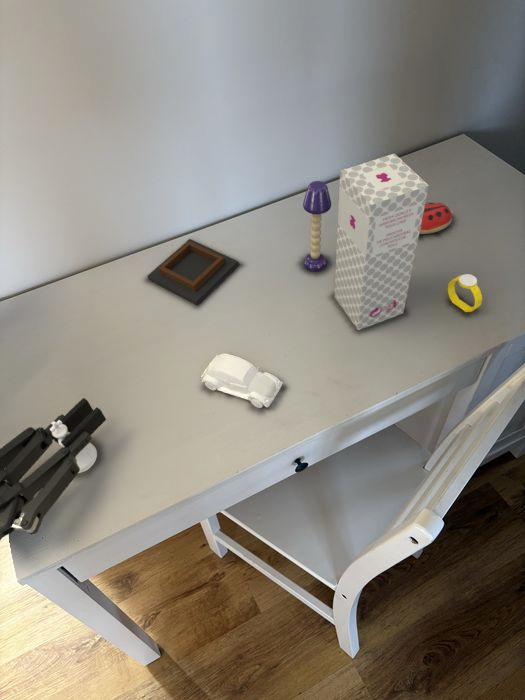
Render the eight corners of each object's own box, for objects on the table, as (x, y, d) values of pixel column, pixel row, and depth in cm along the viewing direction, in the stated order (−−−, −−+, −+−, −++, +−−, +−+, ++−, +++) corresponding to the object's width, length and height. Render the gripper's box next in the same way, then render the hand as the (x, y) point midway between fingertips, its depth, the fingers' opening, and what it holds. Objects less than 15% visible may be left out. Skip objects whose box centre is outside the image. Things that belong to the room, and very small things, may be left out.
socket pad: (148, 279, 99) (144, 270, 97) (190, 242, 104) (188, 232, 102) (197, 305, 94) (194, 295, 92) (238, 265, 100) (237, 255, 98)
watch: (480, 312, 88) (490, 287, 83) (468, 320, 87) (477, 295, 83) (453, 291, 91) (460, 266, 87) (441, 299, 91) (448, 273, 86)
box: (358, 330, 88) (371, 204, 68) (334, 296, 93) (340, 170, 73) (403, 313, 89) (428, 185, 70) (377, 280, 94) (394, 153, 75)
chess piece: (104, 452, 78) (80, 417, 70) (79, 479, 75) (51, 446, 67) (80, 436, 80) (54, 400, 72) (56, 462, 77) (26, 428, 69)
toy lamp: (308, 252, 100) (307, 175, 87) (332, 256, 99) (335, 178, 86) (300, 269, 98) (298, 192, 84) (325, 274, 96) (327, 196, 83)
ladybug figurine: (395, 220, 104) (397, 205, 101) (440, 207, 105) (444, 192, 102) (412, 241, 100) (414, 226, 97) (459, 227, 101) (463, 212, 98)
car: (199, 385, 84) (194, 368, 80) (220, 357, 87) (216, 338, 83) (266, 415, 79) (264, 398, 76) (285, 383, 82) (284, 366, 79)
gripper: (-66, 523, 70) (69, 397, 81) (3, 594, 64) (139, 448, 75) (-101, 501, 65) (50, 369, 75) (-28, 577, 58) (125, 421, 69)
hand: (94, 408), depth 75 cm, fingers closed on chess piece, 2 cm apart
